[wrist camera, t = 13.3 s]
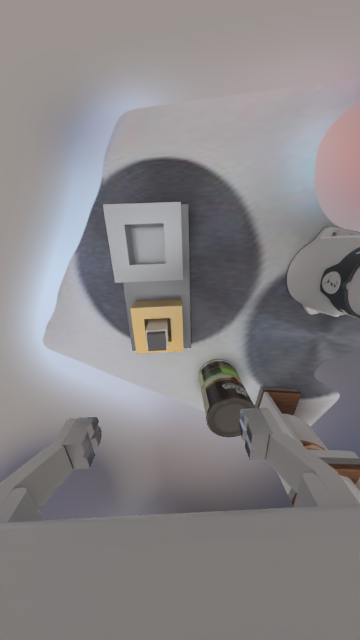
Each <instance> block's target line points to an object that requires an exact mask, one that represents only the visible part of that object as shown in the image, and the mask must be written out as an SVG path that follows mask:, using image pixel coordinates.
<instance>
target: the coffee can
mask: <svg viewBox="0 0 360 640" xmlns="http://www.w3.org/2000/svg"><path fill="white" fill-rule="evenodd" d="M198 378H199V382H200V387H201V392H202V397H203V402H204V407H205V412H206V419H207V425H208V427H209V428H210V430H211V431H212V432H214V433H215V434H217V435H219V436H223V437H235V436H239V435H241V433H240V428H239V420H240V419H241V416H240V410H241V409H251V408H256V407H255V406H254V404H253V403H252V401H251V399H250V397H249V395H248V393H247V392H246V390H245V388H244V386H243V384H242V382H241V380H240V378H239V376H238V374H237V372H236V370H235V368H234V366H233V365H232V364H231V363H230V362H228V361H226V360H221V359H216V360H212V361H209V362H207V363H206V364H205V365H203V367H202V368H201V369H200V371H199V376H198Z"/></svg>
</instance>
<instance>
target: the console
mask: <svg viewBox="0 0 360 640" xmlns="http://www.w3.org/2000/svg"><path fill="white" fill-rule="evenodd" d="M103 209H104V215H105V221H106V228H107V234H108V241H109V247H110V253H111V260H112V266H113V273H114V279H115V283H123V287H124V294H125V301H126V308H127V315H128V322H129V329H130V336H131V343H132V350H133V351H136V354H140V353H159V352H178V351H184V348H191V320H190V268H189V216H188V204H182V205H181V202H163V203H133V204H104V205H103ZM161 318H168V324H169V339H168V348H166V350H161V351H148V348H147V339H146V328H147V325H148V322H149V319H161Z"/></svg>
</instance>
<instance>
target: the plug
mask: <svg viewBox="0 0 360 640" xmlns="http://www.w3.org/2000/svg"><path fill="white" fill-rule="evenodd" d="M146 339H147V348H148V351H161V350H166V348H168V339H169V324H168V318H161V319H149V322H148V325H147V328H146Z"/></svg>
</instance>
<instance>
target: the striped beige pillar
mask: <svg viewBox="0 0 360 640" xmlns="http://www.w3.org/2000/svg"><path fill="white" fill-rule="evenodd" d="M300 397H301V393H300V392H299V391H298V390H297V389H290V388H274V387H261V388H260V391H259V395H258V398H257V401H256V404H255V407H256V408H269V409H270V411H271V413H272V415H273V416H274V418H275V420H276V421H277V423H278V425H279V427H280V428H281V430H282V432H283V434H287V435H289V436H290V437H292V438H293V439H294V440H296V441H297V442H298V443H300V444H301V445H302V446H304V447H305V448H306V449H308V450H309V451H311V452H312V453H313V454H315V455H316V456H317V457H319V458H320V459H321V460H323V461H324V462H325V463H327V464H328V465H330V466H331V467H332V468H334V469H335V470H336V471H337V472H338V474H339V475H340V476H341V478H342V479H343V481H344V482H345V483H346V485H347V486H348V488H349V489H350V490H351V492H352V493H353V495H354V496H355V498H356V499H357V500H358V502H359V503H360V459H359V458H358V456H357V455H356V454H355V453H354V452H353V451H333V450H328V449H327V448H326V447H325V446H324V444H323V443H322V442H321V440H320V439H319V438H318V437H317V435H316V434H315V433H314V431H313V430H312V429H311V428H310V426H309V425H308V424H307V423H306V422H305V421H303V420H302V419H300V418H298V417H296V416H293V414H294V412H295V409H296V407H297V404H298V402H299V399H300ZM278 475H279V474H278ZM279 477H280V479H281V481H282V483H283V486H284V488H285V490H286V492H287V494H288V496H289V498H290V500H291V502H292V504H293V506H294V503H295V500H296V496H297V493H296V492H295V491H294V490H293V489H292V488H291V487H290V486H289V485H288V483H287V482H286V481H285V480H284V479H283V478H282V477H281V476H280V475H279Z"/></svg>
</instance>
